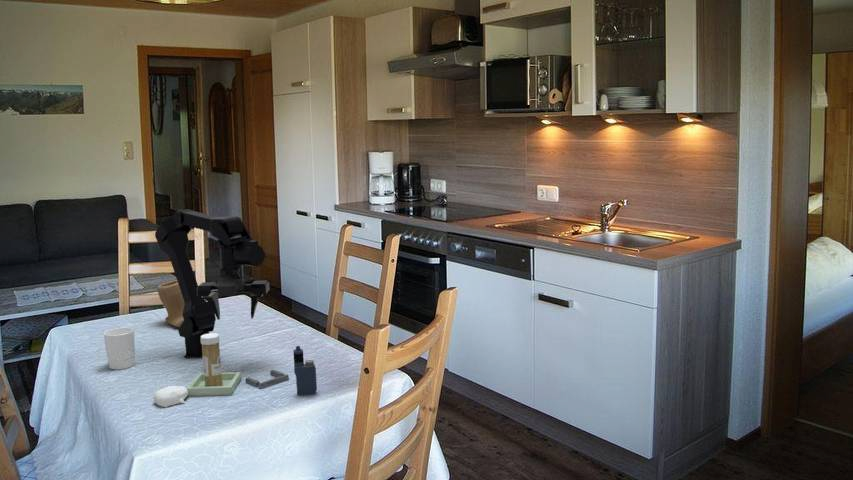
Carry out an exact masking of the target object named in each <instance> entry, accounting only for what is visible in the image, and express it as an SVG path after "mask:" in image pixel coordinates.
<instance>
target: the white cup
mask: <svg viewBox="0 0 853 480" xmlns="http://www.w3.org/2000/svg"><path fill="white" fill-rule="evenodd" d="M103 339H104V344H105V345H104V346H105V351H106V357H107V360H108V368H109V369H111V370H119V369H120V370H126V369H130V368H131V367H134V366H135V364H136V356H135V355H136V346H135V345H136V344H135V343H136V342H135V340H136V339H135V329H134V328H132V327H116V328H111V329H108V330H106V331H104V332H103Z"/></svg>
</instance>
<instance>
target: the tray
mask: <svg viewBox="0 0 853 480" xmlns="http://www.w3.org/2000/svg"><path fill="white" fill-rule="evenodd" d="M241 381H242V372H241V371H236V372H235V371H233V372H230V371H228V372H222V382H223V385H222V386H212V387H205V376H204V372H201V373H200V372H199V373H198V374H197V375H196V376H195V378H194V379H193V380H192V381H191V382H190V384H189V385H188V386H187V387H186V388H187V390H188V395H187V396H188V397H211V396H212V397H213V396H232V395H233V394H234V393H235V390H236V389H237V387H238V386H239V384H240V383H241ZM187 396H186V397H187Z"/></svg>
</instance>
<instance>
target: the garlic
mask: <svg viewBox="0 0 853 480" xmlns="http://www.w3.org/2000/svg"><path fill="white" fill-rule="evenodd" d="M187 395H188V390H187V387H185V386H184V385H181V386H180V385H169V386H165V387H162V388H159V389H158V390H156V391H155V392H154V393H153V401H154V403H155V405H157V406H159V407H163V408H168V407H167V406H170V405H171V406H175V405H179V404H186V403H185V402H186V401H185V399H186V398H187ZM171 406H170V407H171Z"/></svg>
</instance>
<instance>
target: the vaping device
mask: <svg viewBox="0 0 853 480" xmlns="http://www.w3.org/2000/svg"><path fill="white" fill-rule="evenodd" d="M292 353H293V372H294V375H295V380H296V395H297V396H304V395H307V396H308V395H309V396H310V395H315V394H316V393H317V389H318V386H317V384H318V383H317V382H318V381H317V369H316V365H315V363H314V362H315V360H313V359H307V360H304V359H305V358H304V350H303V348H301V346H300V345H297V346H295V349H293V352H292ZM304 361H305V362H304Z"/></svg>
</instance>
